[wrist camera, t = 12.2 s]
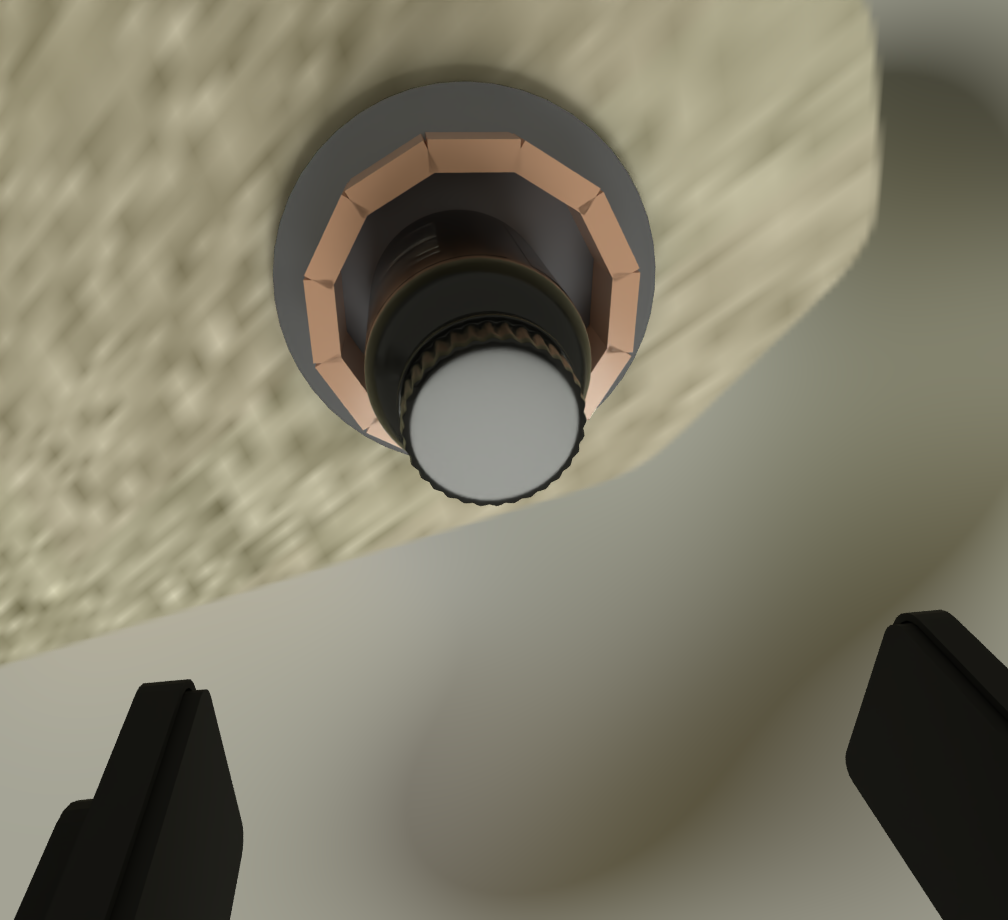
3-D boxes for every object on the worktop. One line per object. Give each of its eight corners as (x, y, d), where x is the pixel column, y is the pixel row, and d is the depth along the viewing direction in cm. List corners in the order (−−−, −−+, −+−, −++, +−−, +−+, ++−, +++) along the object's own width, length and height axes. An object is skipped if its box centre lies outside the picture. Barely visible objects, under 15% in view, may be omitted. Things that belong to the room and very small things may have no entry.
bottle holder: (302, 458, 33) (289, 507, 29) (250, 80, 26) (224, 81, 22) (630, 442, 34) (657, 487, 31) (665, 82, 27) (706, 84, 24)
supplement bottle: (394, 392, 30) (389, 562, 20) (351, 225, 27) (317, 324, 17) (556, 359, 31) (635, 511, 20) (532, 189, 27) (611, 265, 17)
